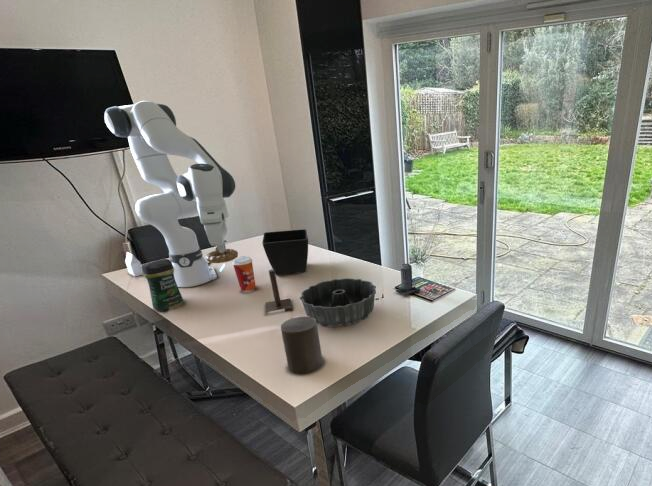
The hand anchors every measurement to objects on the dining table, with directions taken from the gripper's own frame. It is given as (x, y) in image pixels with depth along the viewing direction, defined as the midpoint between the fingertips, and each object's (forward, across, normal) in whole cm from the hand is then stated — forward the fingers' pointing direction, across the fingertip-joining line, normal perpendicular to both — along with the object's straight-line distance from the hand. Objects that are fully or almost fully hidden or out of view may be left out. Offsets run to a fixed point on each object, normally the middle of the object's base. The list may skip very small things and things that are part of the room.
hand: (222, 250), depth 147 cm
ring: (+1, +4, 0) cm, 4 cm away
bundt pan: (+23, +24, +36) cm, 49 cm away
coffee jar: (+23, -12, -24) cm, 35 cm away
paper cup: (+23, -16, +4) cm, 28 cm away
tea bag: (+23, -59, -45) cm, 78 cm away
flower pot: (+23, -34, +22) cm, 47 cm away
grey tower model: (+23, +14, +64) cm, 69 cm away
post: (+23, +7, +15) cm, 28 cm away
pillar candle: (+23, +51, +21) cm, 60 cm away
